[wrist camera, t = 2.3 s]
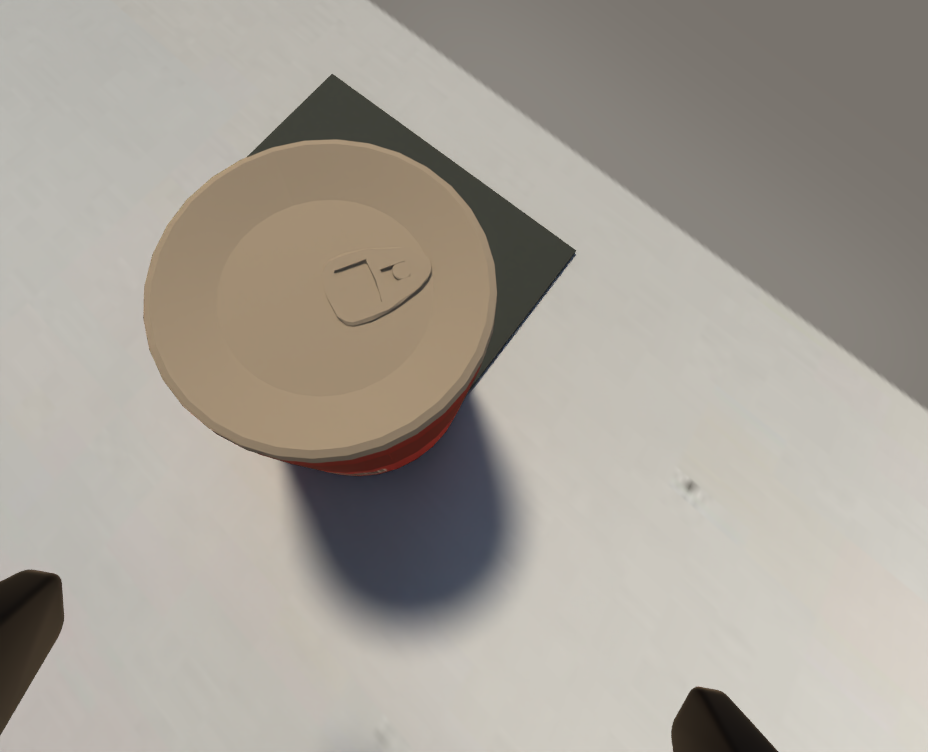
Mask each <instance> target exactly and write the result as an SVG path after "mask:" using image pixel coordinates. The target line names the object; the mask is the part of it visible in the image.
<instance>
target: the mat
mask: <svg viewBox="0 0 928 752" xmlns="http://www.w3.org/2000/svg"><path fill="white" fill-rule="evenodd" d="M334 139H338V140H346V141H354V142H362V143H369V144H372V145H376V146H379V147H382V148H385V149H389V150H392V151H395V152H398V153H401V154H403V155H405V156H407V157H409V158H410V159H412V160H414V161H416V162H418V163H420V164H422V165H424V166H426V167H428V168H429V169H430V170H431V171H433V172H434V173H435V174H437V175H438V176H439V177H440V178H442V179H443V180H444V181H446V182H447V183H448V184H449V185H451V186H452V187H453V189H454V190H455V191H456V192H457V193H458V194H459V196H460V197H461V198H462V199H463V200H464V201H465V202H466V204H467V205H468V206H469V207H470V208H471V210H472V212H473V213H474V215H475V217H476V219H477V220H478V222H479V224H480V226H481V228H482V229H483V231H484V233H485V235H486V238H487V241H488V244H489V248H490V251H491V254H492V257H493V260H494V264H495V275H496V287H497V299H496V300H497V303H496V311H495V319H494V327H493V333H492V336H491V339H490V342H489V344H488V347H487V350H486V353H485V356H484V359H483V362H482V364H481V366H480V369H479V372H478V374H477V375H476V377H475V379H474V381H473V383H472V385H471V387H472V386H473V385H474V384H475V382H476V381H477V380H478V378H479V377H480V376H481V374H482V373H483V372H484V370H485V369H486V368H487V367H488V365H489V364H490V363H491V361H492V360H493V359H494V357H495V356H496V355H497V354H498V352H499V351H500V350H501V348H502V347H503V346H504V344H505V343H506V342H507V340H508V339H509V338H510V337H511V335H512V334H513V333H514V331H515V330H516V329H517V327H518V326H519V325H520V323H521V322H522V321H523V320H524V318H525V317H526V316H527V314H528V313H529V312H530V310H531V309H532V308H533V307H534V305H535V304H536V303H537V301H538V300H539V299H540V297H541V296H542V295H543V293H544V292H545V291H546V290H547V288H548V287H549V286H550V284H551V283H552V282H553V280H554V279H555V278H556V276H557V275H558V274H559V273H560V271H561V270H562V269H563V267H564V266H565V265H566V263H567V262H568V261H569V260H570V258H571V257H572V256H573V254H574V253H575V252H576V250H575V249H573V248H572V247H570V246H569V245H568V244H566V243H565V242H564V241H562V240H561V239H559V238H558V237H557V236H555V235H554V234H552V233H551V232H550V231H548V230H547V229H546V228H544V227H543V226H541V225H540V224H539V223H537V222H536V221H535V220H533V219H532V218H530V217H529V216H528V215H526V214H525V213H524V212H522V211H521V210H519V209H518V208H517V207H515V206H514V205H512V204H511V203H510V202H508V201H507V200H506V199H504V198H503V197H501V196H500V195H499V194H497V193H496V192H495V191H493V190H492V189H490V188H489V187H488V186H486V185H485V184H484V183H482V182H481V181H479V180H478V179H477V178H475V177H474V176H472V175H471V174H470V173H468V172H467V171H466V170H464V169H463V168H461V167H460V166H459V165H457V164H456V163H455V162H453V161H452V160H450V159H449V158H448V157H446V156H445V155H444V154H442V153H441V152H439V151H438V150H437V149H435V148H434V147H432V146H431V145H430V144H428V143H427V142H426V141H424V140H423V139H421V138H420V137H419V136H417V135H416V134H415V133H413V132H412V131H410V130H409V129H408V128H406V127H405V126H404V125H402V124H401V123H399V122H398V121H397V120H395V119H394V118H392V117H391V116H390V115H388V114H387V113H386V112H384V111H383V110H381V109H380V108H379V107H377V106H376V105H375V104H373V103H372V102H370V101H369V100H368V99H366V98H365V97H364V96H362V95H361V94H359V93H358V92H357V91H355V90H354V89H352V88H351V87H350V86H348V85H347V84H346V83H344V82H343V81H341V80H340V79H339V78H337V77H336V76H335V75H333V74H332V75H330V76H329V77H328V78H327V79H326V80H325V81H324V82H323V83H322V84H321V85H320V86H319V87H318V88H317V89H316V90H315V91H314V92H313V93H312V94H311V95H310V96H309V97H308V98H307V99H306V100H305V101H304V102H303V103H302V104H301V105H300V106H299V107H298V108H297V109H296V110H295V111H294V112H293V113H291V114H290V115H289V116H288V117H287V118H286V119H285V120H284V121H283V122H282V123H281V124H280V125H279V126H278V127H277V128H276V129H275V130H274V131H273V132H272V133H271V134H270V135H269V136H268V137H267V138H266V139H265V140H264V141H263V142H262V143H261V144H260V145H259V146H258V147H257V148H256V149H255V150H254V151H253V152H251V153H250V154H249V155H248V156H247V157H249V156H252V155H254V154H257V153H259V152H262V151H264V150H267V149H270V148H272V147H277V146H282V145H287V144H291V143H296V142H301V141H310V140H334ZM247 157H246V158H247ZM471 387H470V389H471ZM470 389H469V390H470Z"/></svg>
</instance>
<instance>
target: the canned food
mask: <svg viewBox="0 0 928 752" xmlns="http://www.w3.org/2000/svg"><path fill="white" fill-rule="evenodd" d="M496 299H497V287H496V275H495V264H494V260H493V257H492V254H491V251H490V248H489V244H488V241H487V238H486V235H485V233H484V231H483V229H482V228H481V226H480V224H479V222H478V220H477V219H476V217H475V215H474V213H473V212H472V210H471V208H470V207H469V206H468V205H467V204H466V202H465V201H464V200H463V199H462V198H461V197H460V196H459V194H458V193H457V192H456V191H455V190H454V189H453V187H452V186H451V185H449V184H448V183H447V182H446V181H444V180H443V179H442V178H440V177H439V176H438V175H437V174H435V173H434V172H433V171H431V170H430V169H429V168H428V167H426V166H424V165H422V164H420V163H418V162H416V161H414V160H412V159H410V158H409V157H407V156H405V155H403V154H401V153H398V152H395V151H392V150H389V149H385V148H382V147H379V146H376V145H372V144H369V143H362V142H354V141H346V140H338V139H334V140H310V141H301V142H296V143H291V144H287V145H282V146H277V147H272V148H270V149H267V150H264V151H262V152H259V153H257V154H254V155H252V156H249V157H247V158H244V159H242V160H240V161H238V162H236V163H235V164H233V165H231V166H230V167H228V168H227V169H225V170H223V171H222V172H220V173H218V174H217V175H215V176H213V177H212V178H211V179H210V180H209V181H207V182H206V183H205V184H204V185H203V186H202V187H201V188H200V189H198V190H197V191H196V192H195V193H194V194H193V195H192V196H190V197H189V198H188V199H187V200H186V202H185V203H184V204H183V206H182V207H181V208H180V209H179V211H178V212H177V213H176V215H175V216H174V217H173V218H172V220H171V221H170V222H169V224H168V225H167V227H166V229H165V231H164V233H163V235H162V237H161V239H160V241H159V243H158V245H157V247H156V249H155V251H154V253H153V255H152V259H151V263H150V267H149V270H148V274H147V278H146V282H145V286H144V315H143V319H144V324H145V329H146V334H147V339H148V344H149V350H150V352H151V354H152V356H153V359H154V361H155V363H156V365H157V368H158V370H159V372H160V374H161V377H162V379H163V380H164V382H165V383H166V384H167V386H168V387H169V388H170V390H171V391H172V392H173V394H174V395H175V396H176V398H177V399H178V400H179V402H180V403H181V404H182V406H183V407H184V408H186V409H187V410H188V411H189V412H190V413H191V414H193V415H194V416H195V417H196V418H197V419H199V420H200V421H201V422H202V423H203V424H204V425H206V426H207V427H208V428H209V429H211V430H212V431H213V432H215V433H216V434H218V435H219V436H221V437H223V438H225V439H227V440H229V441H231V442H233V443H234V444H236V445H238V446H240V447H242V448H244V449H246V450H248V451H252V452H255V453H258V454H260V455H263V456H267V457H270V458H273V459H277V460H280V461H283V462H287V463H290V464H295V465H299V466H303V467H308V468H312V469H317V470H321V471H325V472H330V473H334V474H340V475H351V476H365V475H375V474H381V473H384V472H387V471H391V470H394V469H398V468H400V467H402V466H404V465H406V464H408V463H410V462H412V461H414V460H416V459H417V458H419V457H420V456H421V455H423V454H424V453H425V452H426V451H428V450H429V449H430V448H432V447H433V446H434V445H435V443H436V442H437V441H438V440H439V439H440V438H441V437H442V436H443V434H444V433H445V432H446V431H447V429H448V427H449V426H450V424H451V422H452V420H453V419H454V417H455V415H456V414H457V412H458V410H459V408H460V406H461V404H462V402H463V400H464V398H465V396H466V395H467V393H468V391H469V389H470V387H471V385H472V383H473V381H474V379H475V377H476V375H477V374H478V372H479V369H480V366H481V364H482V362H483V359H484V356H485V353H486V350H487V347H488V344H489V342H490V339H491V336H492V333H493V327H494V319H495V311H496V303H497V300H496Z"/></svg>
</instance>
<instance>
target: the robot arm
mask: <svg viewBox="0 0 928 752" xmlns="http://www.w3.org/2000/svg"><path fill="white" fill-rule="evenodd" d="M63 622H64V608H63V593H62V582H61V579H60V577H59V576H58V575H57V574H54V573H48V572H43V571H37V570H24V571H21V572H19V573H17V574H15V575H13V576H11V577H9V578H7V579H5V580H3V581H1V582H0V735H1V733H2V732H3V730H4V728H5V726H6V725H7V723H8V721H9V720H10V718H11V716H12V715H13V713H14V711H15V709H16V708H17V706H18V704H19V703H20V701H21V699H22V698H23V696H24V694H25V692H26V691H27V689H28V687H29V686H30V684H31V682H32V681H33V679H34V677H35V675H36V674H37V672H38V670H39V669H40V667H41V665H42V664H43V662H44V660H45V658H46V657H47V655H48V653H49V652H50V650H51V648H52V647H53V645H54V643H55V641H56V640H57V638H58V636H59V634H60V632H61V629H62V626H63ZM671 738H672V746H673V752H778V751H777V750H776V749H775V748H774V746H773V745H772V744H771V743H770V742H769V741H768V740H767V739H766V738H765V737H764V735H763V734H762V733H761V732H760V731H759V730H758V729H757V728H756V727H755V726H754V724H753V723H752V722H751V721H750V720H749V719H748V718H747V717H746V716H745V715H744V713H743V712H742V711H741V710H740V709H739V708H738V707H737V706H736V705H735V704H734V702H733V701H732V700H731V699H730V698H729V697H728V696H727V695H726V694H725V693H723V692H721V691H719V690H715V689H709V688H703V687H695V688H693V689H692V690H691V691H690V692H689V694H688V696H687V698H686V700H685V701H684V703H683V705H682V707H681V709H680V710H679V712H678V714H677V716H676V718H675V719H674V722H673V725H672V732H671Z"/></svg>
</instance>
